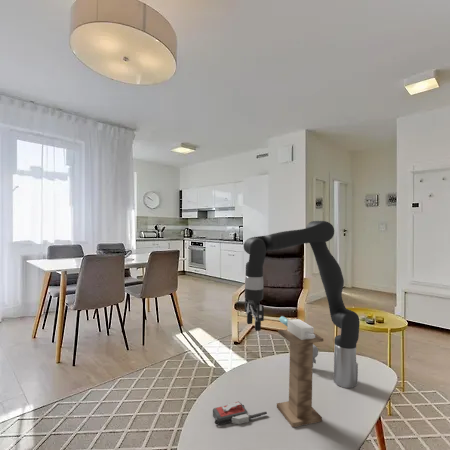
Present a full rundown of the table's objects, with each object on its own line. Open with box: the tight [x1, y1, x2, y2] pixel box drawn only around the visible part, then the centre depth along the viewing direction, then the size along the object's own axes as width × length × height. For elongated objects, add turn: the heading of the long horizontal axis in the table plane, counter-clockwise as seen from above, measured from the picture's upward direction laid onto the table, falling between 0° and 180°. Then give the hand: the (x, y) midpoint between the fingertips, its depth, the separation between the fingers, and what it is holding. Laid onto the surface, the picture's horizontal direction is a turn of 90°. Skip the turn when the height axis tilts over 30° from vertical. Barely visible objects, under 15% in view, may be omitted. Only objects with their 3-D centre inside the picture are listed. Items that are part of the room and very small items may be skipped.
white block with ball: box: [279, 315, 315, 340], centre depth 116 cm, size 5×23×4 cm, turn 17°
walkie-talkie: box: [212, 401, 268, 426], centre depth 111 cm, size 9×4×20 cm
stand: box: [276, 328, 324, 428], centre depth 113 cm, size 12×12×30 cm
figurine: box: [312, 344, 319, 369], centre depth 149 cm, size 8×8×12 cm
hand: (253, 327), depth 122 cm, fingers open, 8 cm apart
